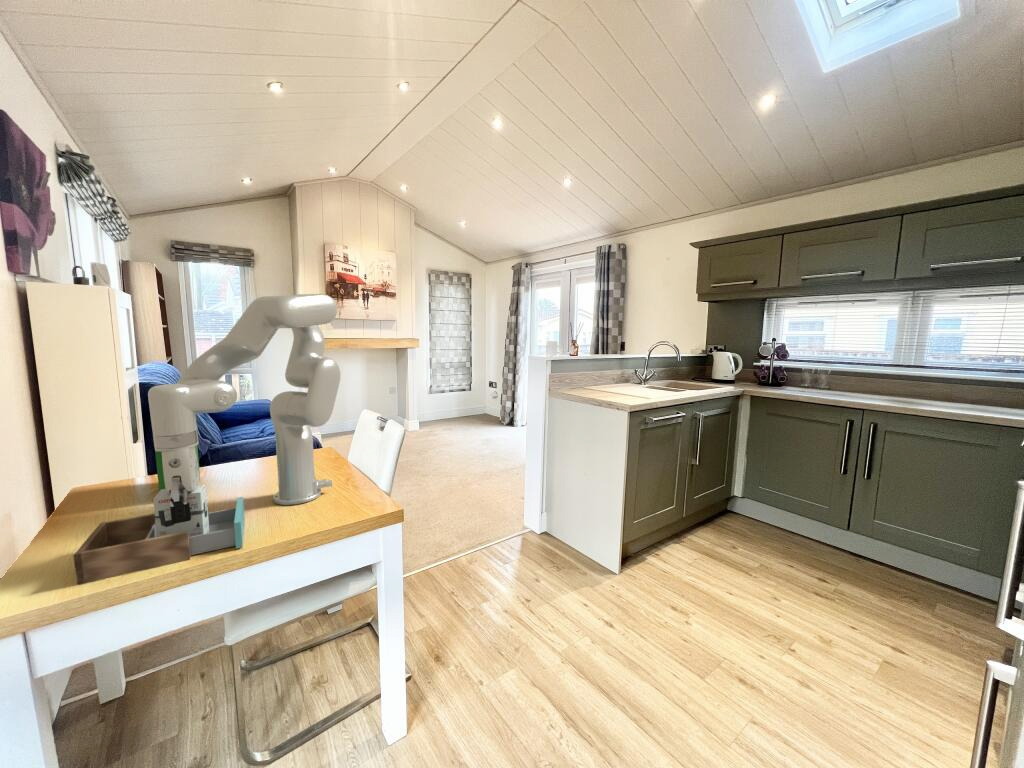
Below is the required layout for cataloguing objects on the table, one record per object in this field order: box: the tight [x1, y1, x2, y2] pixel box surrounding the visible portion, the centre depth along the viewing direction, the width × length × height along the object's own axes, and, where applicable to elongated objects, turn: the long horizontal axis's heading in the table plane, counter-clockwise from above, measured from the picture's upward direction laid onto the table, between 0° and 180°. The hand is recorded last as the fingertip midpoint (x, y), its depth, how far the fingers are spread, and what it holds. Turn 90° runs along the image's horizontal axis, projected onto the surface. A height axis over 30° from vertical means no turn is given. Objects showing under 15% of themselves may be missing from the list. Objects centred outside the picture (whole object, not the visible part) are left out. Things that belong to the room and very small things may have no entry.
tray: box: [146, 496, 245, 556], centre depth 92 cm, size 17×16×6 cm
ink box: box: [153, 484, 209, 537], centre depth 90 cm, size 9×5×12 cm, turn 116°
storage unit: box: [73, 513, 192, 585], centre depth 87 cm, size 17×16×6 cm
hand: (185, 513), depth 91 cm, fingers open, 9 cm apart
